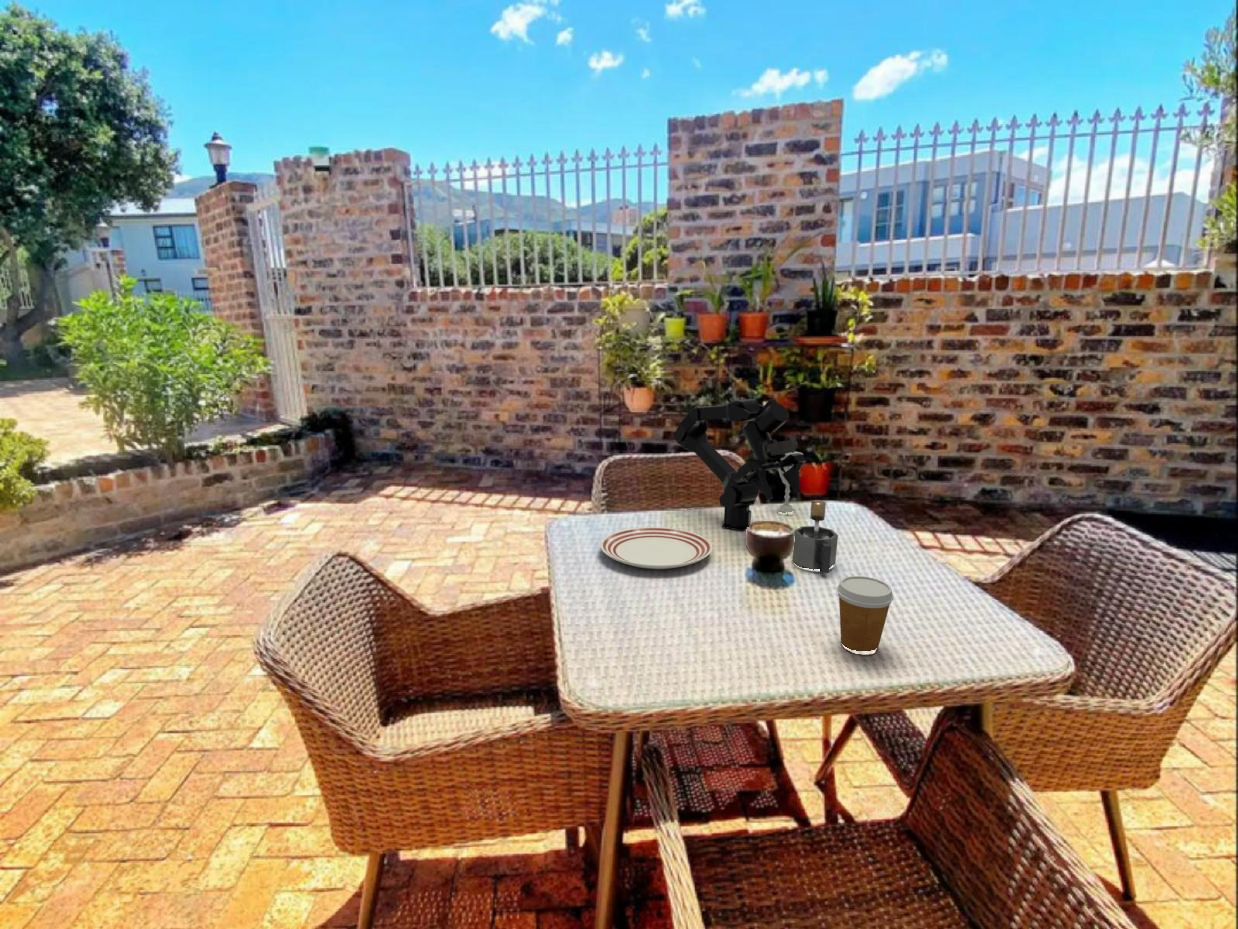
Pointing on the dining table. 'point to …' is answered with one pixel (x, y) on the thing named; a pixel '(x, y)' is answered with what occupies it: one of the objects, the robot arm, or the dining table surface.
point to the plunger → (817, 514)
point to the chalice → (786, 490)
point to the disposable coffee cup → (863, 611)
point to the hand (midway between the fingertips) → (785, 496)
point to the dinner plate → (656, 547)
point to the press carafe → (815, 548)
